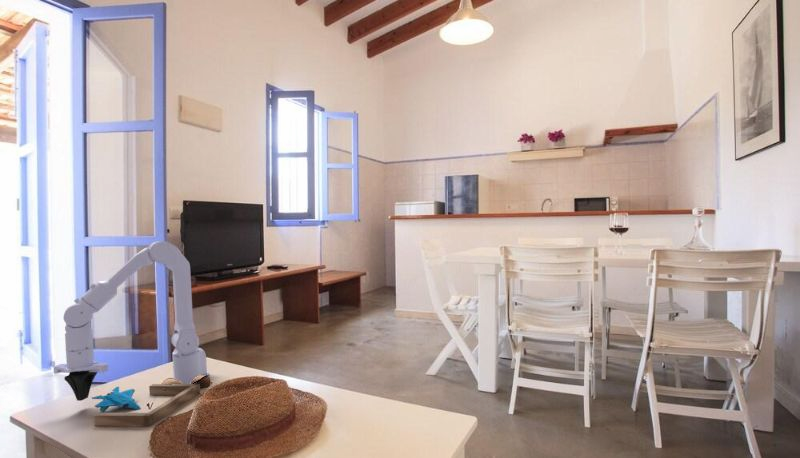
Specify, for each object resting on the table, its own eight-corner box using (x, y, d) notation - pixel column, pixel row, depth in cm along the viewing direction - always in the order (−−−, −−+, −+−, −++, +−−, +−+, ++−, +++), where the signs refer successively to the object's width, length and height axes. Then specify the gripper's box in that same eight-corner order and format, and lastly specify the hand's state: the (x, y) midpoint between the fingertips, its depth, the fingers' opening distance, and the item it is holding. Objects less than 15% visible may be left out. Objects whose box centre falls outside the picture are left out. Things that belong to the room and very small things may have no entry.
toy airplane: (87, 420, 98) (86, 403, 98) (100, 404, 107) (99, 388, 107) (141, 410, 103) (140, 394, 102) (150, 395, 112) (149, 380, 112)
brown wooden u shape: (153, 392, 113) (153, 384, 113) (200, 392, 111) (199, 383, 111) (94, 426, 94) (94, 415, 94) (149, 426, 93) (148, 415, 93)
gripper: (40, 353, 102) (43, 405, 102) (90, 352, 101) (93, 405, 101) (67, 345, 109) (69, 394, 109) (113, 344, 108) (116, 394, 108)
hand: (82, 399), depth 105 cm, fingers closed
